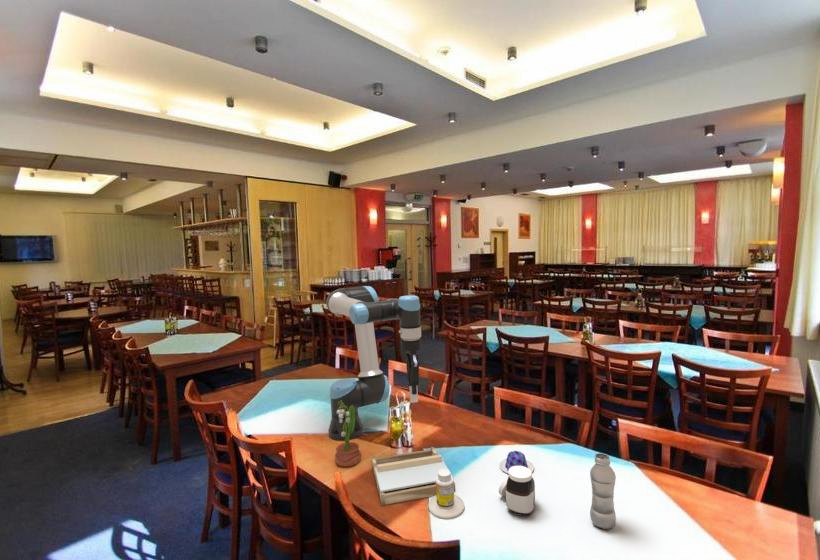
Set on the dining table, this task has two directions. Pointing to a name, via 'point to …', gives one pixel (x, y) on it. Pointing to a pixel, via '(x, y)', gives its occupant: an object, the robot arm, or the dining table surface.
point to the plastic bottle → (602, 492)
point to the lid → (409, 472)
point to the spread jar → (519, 490)
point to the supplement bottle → (444, 489)
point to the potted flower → (347, 439)
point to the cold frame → (409, 493)
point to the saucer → (446, 513)
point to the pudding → (515, 461)
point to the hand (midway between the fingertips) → (414, 401)
